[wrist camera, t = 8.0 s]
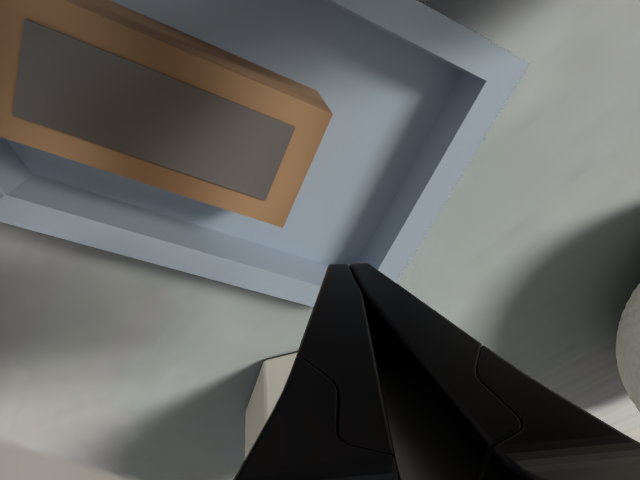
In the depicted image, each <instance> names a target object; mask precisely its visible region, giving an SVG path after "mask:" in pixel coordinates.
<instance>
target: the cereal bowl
mask: <svg viewBox="0 0 640 480" xmlns="http://www.w3.org/2000/svg"><path fill="white" fill-rule="evenodd" d="M615 346H616V355H615V356H616V359H617V368H618V370H619V376H620V378H621V380H622V382H623V386H624V388H625V389H626V391H627V392H628V394H629V397H630V399H631V400H632V401H633V403H634V404H635V405H636V407H637V409H638V410H639V412H640V283H639V284H638V286H637V288H636V289H635V290H634V291H633V293H632V295H631V297H630V299H629V301H628V302H627V303H626V307H625V309H624V310H623V312H622V315H621V320H620V322H619V328H618V332H617V341H616V345H615Z"/></svg>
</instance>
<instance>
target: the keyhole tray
mask: <svg viewBox="0 0 640 480" xmlns="http://www.w3.org/2000/svg"><path fill="white" fill-rule="evenodd" d="M111 1H113V2H115V3H117V4H120V5H122V6H124V7H127V8H129V9H131V10H134V11H136V12H138V13H140V14H143V15H145V16H147V17H150V18H152V19H154V20H156V21H159V22H161V23H163V24H166V25H168V26H170V27H172V28H175V29H177V30H179V31H182V32H184V33H186V34H188V35H191V36H193V37H195V38H198V39H200V40H202V41H205V42H207V43H209V44H211V45H214V46H216V47H218V48H221V49H223V50H225V51H227V52H230V53H232V54H234V55H237V56H239V57H241V58H243V59H246V60H248V61H250V62H253V63H255V64H257V65H259V66H262V67H264V68H266V69H269V70H271V71H273V72H275V73H278V74H280V75H282V76H285V77H287V78H289V79H292V80H294V81H296V82H298V83H301V84H303V85H305V86H308V87H310V88H312V89H314V90H317V91H318V92H319V94H320V95H321V97H322V98H323V100H324V101H325V103H326V104H327V106H328V107H329V109H330V110H331V112H332V113H333V115H332V117H331V120H330V122H329V124H328V127H327V129H326V131H325V133H324V136H323V138H322V140H321V142H320V145H319V147H318V149H317V152H316V154H315V156H314V158H313V161H312V163H311V165H310V168H309V170H308V172H307V174H306V177H305V179H304V181H303V183H302V186H301V188H300V190H299V193H298V195H297V197H296V199H295V202H294V204H293V206H292V208H291V211H290V213H289V215H288V218H287V220H286V222H285V224H284V227H283V228H282V227H278V226H275V225H272V224H269V223H266V222H263V221H260V220H257V219H254V218H251V217H247V216H244V215H241V214H238V213H235V212H232V211H229V210H226V209H223V208H220V207H216V206H213V205H210V204H207V203H204V202H201V201H198V200H195V199H192V198H188V197H185V196H182V195H179V194H176V193H173V192H170V191H167V190H164V189H161V188H157V187H154V186H151V185H148V184H145V183H142V182H139V181H136V180H133V179H130V178H126V177H123V176H120V175H117V174H114V173H111V172H108V171H105V170H102V169H99V168H95V167H92V166H89V165H86V164H83V163H80V162H77V161H74V160H71V159H68V158H64V157H61V156H58V155H55V154H52V153H49V152H46V151H43V150H40V149H36V148H33V147H30V146H27V145H24V144H21V143H18V142H15V141H12V140H9V139H5V138H2V137H0V222H3V223H6V224H10V225H14V226H17V227H21V228H25V229H28V230H32V231H36V232H39V233H43V234H47V235H50V236H54V237H58V238H61V239H65V240H69V241H72V242H76V243H80V244H83V245H87V246H91V247H94V248H98V249H102V250H105V251H109V252H113V253H116V254H120V255H124V256H127V257H131V258H135V259H138V260H142V261H146V262H149V263H153V264H157V265H160V266H164V267H168V268H172V269H175V270H179V271H183V272H186V273H190V274H194V275H197V276H201V277H205V278H208V279H212V280H216V281H219V282H223V283H227V284H230V285H234V286H238V287H241V288H245V289H249V290H252V291H256V292H260V293H263V294H267V295H271V296H274V297H278V298H282V299H285V300H289V301H293V302H296V303H300V304H304V305H307V306H311V307H314V304H315V302H316V299H317V296H318V293H319V290H320V287H321V285H322V282H323V279H324V276H325V273H326V270H327V268H328V266H329V265H330V264H344V263H345V264H347V265H348V266H349V265H350V264H351V263H368V264H370V265H372V266H373V267H374V268H376V269H377V270H379V271H380V272H381V273H383V274H384V275H386V276H387V277H388V278H390V279H391V280H393V281H394V282H395V283H397V281H398V280H399V278H400V276H401V275H402V273H403V271H404V270H405V268H406V266H407V265H408V263H409V262H410V260H411V258H412V257H413V255H414V253H415V252H416V250H417V248H418V247H419V245H420V243H421V242H422V240H423V238H424V237H425V235H426V233H427V232H428V230H429V229H430V227H431V225H432V224H433V222H434V220H435V219H436V217H437V215H438V214H439V212H440V210H441V209H442V207H443V205H444V204H445V202H446V201H447V199H448V197H449V196H450V194H451V192H452V191H453V189H454V187H455V186H456V184H457V182H458V181H459V179H460V177H461V176H462V174H463V172H464V171H465V169H466V168H467V166H468V164H469V163H470V161H471V159H472V158H473V156H474V154H475V153H476V151H477V149H478V148H479V146H480V144H481V143H482V141H483V140H484V138H485V136H486V135H487V133H488V131H489V130H490V128H491V126H492V125H493V123H494V121H495V120H496V118H497V116H498V115H499V113H500V111H501V110H502V108H503V107H504V105H505V103H506V102H507V100H508V98H509V97H510V95H511V93H512V92H513V90H514V88H515V87H516V85H517V83H518V82H519V80H520V79H521V77H522V75H523V74H524V72H525V70H526V69H527V67H528V65H529V64H530V63H529V62H528V61H526V60H524V59H522V58H520V57H519V56H517V55H515V54H513V53H511V52H510V51H508V50H506V49H504V48H502V47H501V46H499V45H497V44H495V43H493V42H492V41H490V40H488V39H486V38H484V37H483V36H481V35H479V34H477V33H475V32H474V31H472V30H470V29H468V28H466V27H464V26H463V25H461V24H459V23H457V22H455V21H454V20H452V19H450V18H448V17H446V16H445V15H443V14H441V13H439V12H437V11H436V10H434V9H432V8H430V7H428V6H427V5H425V4H423V3H421V2H419V1H418V0H111Z"/></svg>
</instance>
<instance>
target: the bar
mask: <svg viewBox="0 0 640 480" xmlns="http://www.w3.org/2000/svg"><path fill="white" fill-rule="evenodd" d="M332 115H333V113H332V112H331V110H330V109H329V107H328V106H327V104H326V103H325V101H324V100H323V98H322V97H321V95H320V94H319V92H318V91H317V90H314V89H312V88H310V87H308V86H305V85H303V84H301V83H298V82H296V81H294V80H292V79H289V78H287V77H285V76H282V75H280V74H278V73H275V72H273V71H271V70H269V69H266V68H264V67H262V66H259V65H257V64H255V63H253V62H250V61H248V60H246V59H243V58H241V57H239V56H237V55H234V54H232V53H230V52H227V51H225V50H223V49H221V48H218V47H216V46H214V45H211V44H209V43H207V42H205V41H202V40H200V39H198V38H195V37H193V36H191V35H188V34H186V33H184V32H182V31H179V30H177V29H175V28H172V27H170V26H168V25H166V24H163V23H161V22H159V21H156V20H154V19H152V18H150V17H147V16H145V15H143V14H140V13H138V12H136V11H134V10H131V9H129V8H127V7H124V6H122V5H120V4H117V3H115V2H113V1H111V0H0V137H2V138H5V139H9V140H12V141H15V142H18V143H21V144H24V145H27V146H30V147H33V148H36V149H40V150H43V151H46V152H49V153H52V154H55V155H58V156H61V157H64V158H68V159H71V160H74V161H77V162H80V163H83V164H86V165H89V166H92V167H95V168H99V169H102V170H105V171H108V172H111V173H114V174H117V175H120V176H123V177H126V178H130V179H133V180H136V181H139V182H142V183H145V184H148V185H151V186H154V187H157V188H161V189H164V190H167V191H170V192H173V193H176V194H179V195H182V196H185V197H188V198H192V199H195V200H198V201H201V202H204V203H207V204H210V205H213V206H216V207H220V208H223V209H226V210H229V211H232V212H235V213H238V214H241V215H244V216H247V217H251V218H254V219H257V220H260V221H263V222H266V223H269V224H272V225H275V226H278V227H282V228H283V227H284V224H285V222H286V220H287V218H288V215H289V213H290V211H291V208H292V206H293V204H294V202H295V199H296V197H297V195H298V193H299V190H300V188H301V186H302V183H303V181H304V179H305V177H306V174H307V172H308V170H309V168H310V165H311V163H312V161H313V158H314V156H315V154H316V152H317V149H318V147H319V145H320V142H321V140H322V138H323V136H324V133H325V131H326V129H327V127H328V124H329V122H330V120H331V117H332Z"/></svg>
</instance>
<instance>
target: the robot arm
mask: <svg viewBox="0 0 640 480" xmlns="http://www.w3.org/2000/svg"><path fill="white" fill-rule="evenodd" d="M233 480H640V443H639V442H637V441H635V440H634V439H632V438H630V437H628V436H626V435H625V434H623V433H621V432H620V431H618V430H616V429H615V428H613V427H611V426H610V425H608V424H606V423H605V422H603V421H601V420H600V419H598V418H596V417H595V416H593V415H591V414H590V413H588V412H586V411H585V410H583V409H581V408H580V407H578V406H576V405H575V404H573V403H572V402H570V401H568V400H567V399H565V398H563V397H562V396H560V395H558V394H557V393H555V392H553V391H552V390H550V389H548V388H547V387H545V386H544V385H542V384H540V383H539V382H537V381H536V380H534V379H532V378H531V377H529V376H528V375H526V374H525V373H523V372H522V371H520V370H519V369H517V368H516V367H514V366H513V365H511V364H510V363H508V362H507V361H505V360H504V359H502V358H501V357H499V356H498V355H497V354H495V353H494V352H492V351H491V350H490V349H488V348H487V347H485V346H482V347H481V343H480V342H478V341H477V340H475V339H474V338H473V337H471V336H470V335H468V334H467V333H466V332H464V331H463V330H461V329H460V328H459V327H457V326H456V325H454V324H453V323H452V322H450V321H449V320H447V319H446V318H445V317H443V316H442V315H440V314H439V313H438V312H436V311H435V310H433V309H432V308H430V307H429V306H428V305H426V304H425V303H423V302H422V301H421V300H419V299H418V298H416V297H415V296H414V295H412V294H411V293H409V292H408V291H407V290H405V289H404V288H402V287H401V286H400V285H398V284H397V283H395V282H394V281H393V280H391V279H390V278H388V277H387V276H386V275H384V274H383V273H381V272H380V271H379V270H377V269H376V268H374V267H373V266H372V265H370V264H368V263H351V264H350V265H349V266H348V265H347V264H345V263H344V264H330V265H329V266H328V268H327V270H326V273H325V276H324V279H323V282H322V285H321V287H320V290H319V293H318V296H317V299H316V302H315V304H314V307H313V310H312V313H311V316H310V319H309V321H308V324H307V327H306V330H305V333H304V336H303V338H302V341H301V344H300V347H299V350H298V352H297V355H296V358H295V360H294V363H293V366H292V369H291V371H290V374H289V376H288V379H287V381H286V384H285V386H284V388H283V391H282V393H281V395H280V397H279V399H278V401H277V403H276V405H275V407H274V409H273V411H272V413H271V414H270V416H269V418H268V420H267V421H266V423H265V425H264V427H263V428H262V430H261V432H260V434H259V436H258V437H257V439H256V441H255V443H254V444H253V446H252V448H251V450H250V451H249V453H248V455H247V457H246V459H245V460H244V462H243V464H242V466H241V467H240V469H239V471H238V473H237V474H236V476H235V478H234V479H233Z"/></svg>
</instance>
